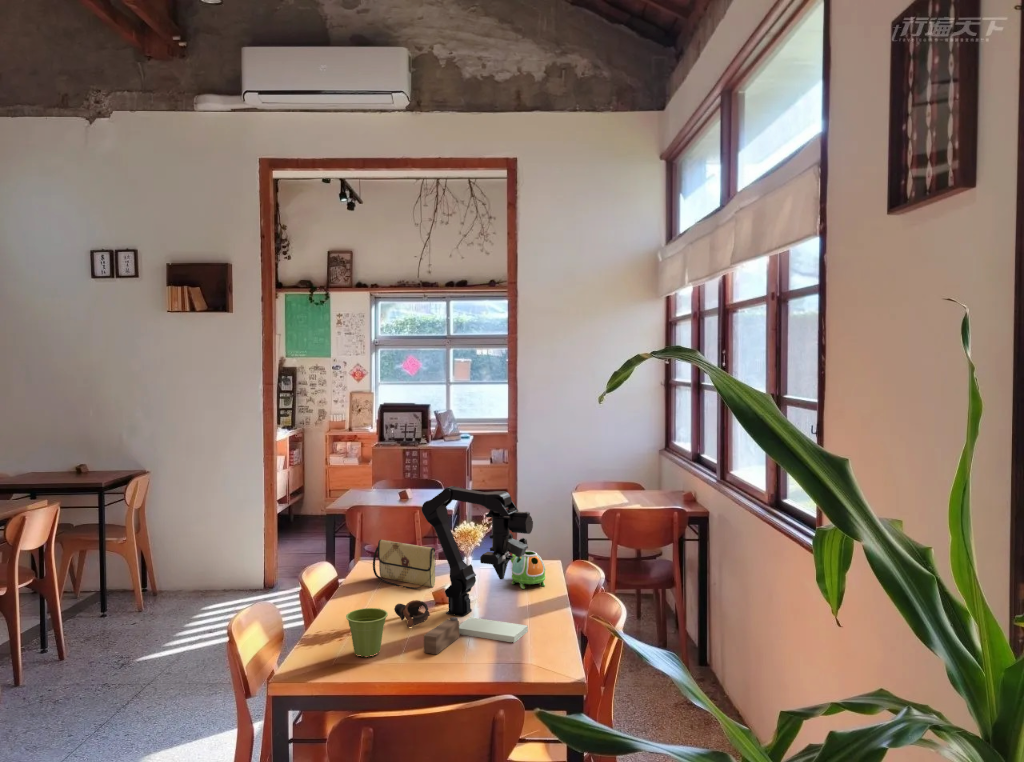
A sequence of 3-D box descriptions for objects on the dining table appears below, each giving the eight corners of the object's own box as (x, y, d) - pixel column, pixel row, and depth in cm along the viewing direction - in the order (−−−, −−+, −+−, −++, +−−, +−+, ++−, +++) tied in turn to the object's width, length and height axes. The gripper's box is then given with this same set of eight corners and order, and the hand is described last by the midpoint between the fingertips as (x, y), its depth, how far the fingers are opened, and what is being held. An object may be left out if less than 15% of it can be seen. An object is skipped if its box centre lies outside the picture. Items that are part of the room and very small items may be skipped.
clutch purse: (368, 580, 283) (367, 542, 282) (381, 576, 289) (380, 538, 288) (428, 592, 267) (427, 551, 266) (440, 587, 272) (439, 547, 272)
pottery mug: (432, 619, 240) (434, 601, 236) (422, 641, 232) (424, 623, 228) (397, 608, 242) (399, 591, 238) (386, 630, 234) (388, 612, 230)
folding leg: (450, 633, 225) (449, 616, 225) (461, 635, 223) (461, 618, 223) (424, 652, 210) (423, 634, 210) (436, 654, 209) (436, 636, 209)
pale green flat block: (455, 633, 226) (455, 627, 225) (470, 622, 235) (470, 617, 235) (514, 642, 217) (514, 636, 217) (527, 631, 226) (527, 625, 226)
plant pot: (368, 664, 203) (367, 624, 203) (338, 656, 209) (337, 617, 209) (397, 650, 213) (396, 611, 213) (366, 642, 219) (366, 605, 219)
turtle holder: (527, 574, 287) (527, 544, 287) (552, 586, 271) (551, 554, 271) (499, 579, 281) (499, 548, 281) (523, 592, 265) (522, 559, 265)
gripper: (511, 539, 225) (512, 590, 225) (535, 527, 242) (535, 574, 242) (479, 536, 230) (480, 586, 230) (504, 524, 247) (505, 570, 247)
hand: (501, 579), depth 237 cm, fingers closed
